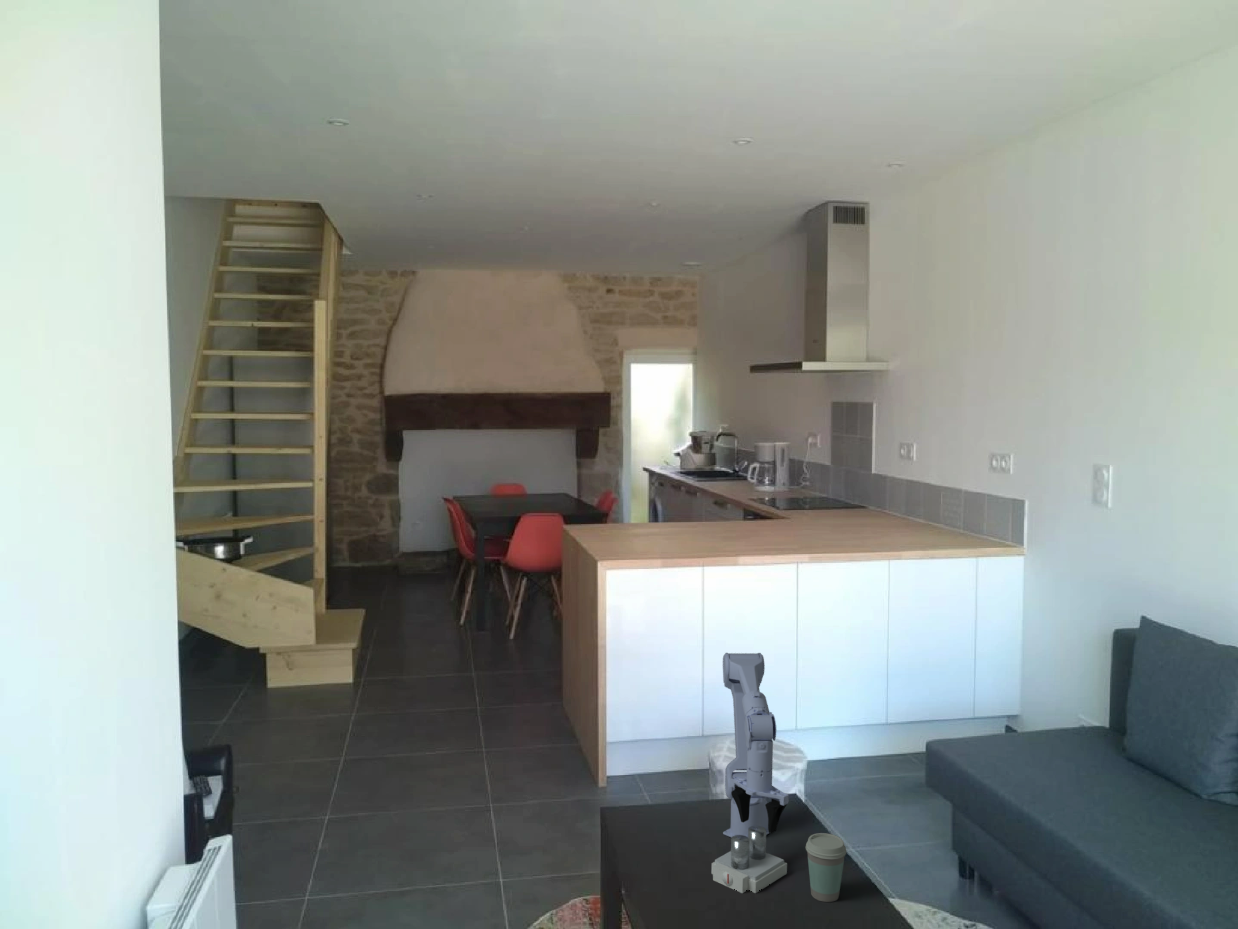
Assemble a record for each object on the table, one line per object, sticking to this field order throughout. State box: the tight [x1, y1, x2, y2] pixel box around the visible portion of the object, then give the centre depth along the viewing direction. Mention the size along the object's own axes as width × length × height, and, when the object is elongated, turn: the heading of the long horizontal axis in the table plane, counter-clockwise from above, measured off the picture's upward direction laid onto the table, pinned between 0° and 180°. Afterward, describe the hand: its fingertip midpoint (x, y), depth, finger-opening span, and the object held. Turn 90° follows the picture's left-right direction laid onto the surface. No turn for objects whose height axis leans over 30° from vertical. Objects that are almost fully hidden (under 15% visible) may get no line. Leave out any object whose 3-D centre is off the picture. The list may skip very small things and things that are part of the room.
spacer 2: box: [748, 826, 767, 860], centre depth 211 cm, size 4×4×6 cm
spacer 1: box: [730, 835, 750, 870], centre depth 206 cm, size 4×4×6 cm
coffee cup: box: [805, 832, 847, 903], centre depth 200 cm, size 8×9×12 cm
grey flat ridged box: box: [711, 850, 788, 894], centre depth 208 cm, size 14×12×3 cm
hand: (758, 826), depth 211 cm, fingers open, 7 cm apart
